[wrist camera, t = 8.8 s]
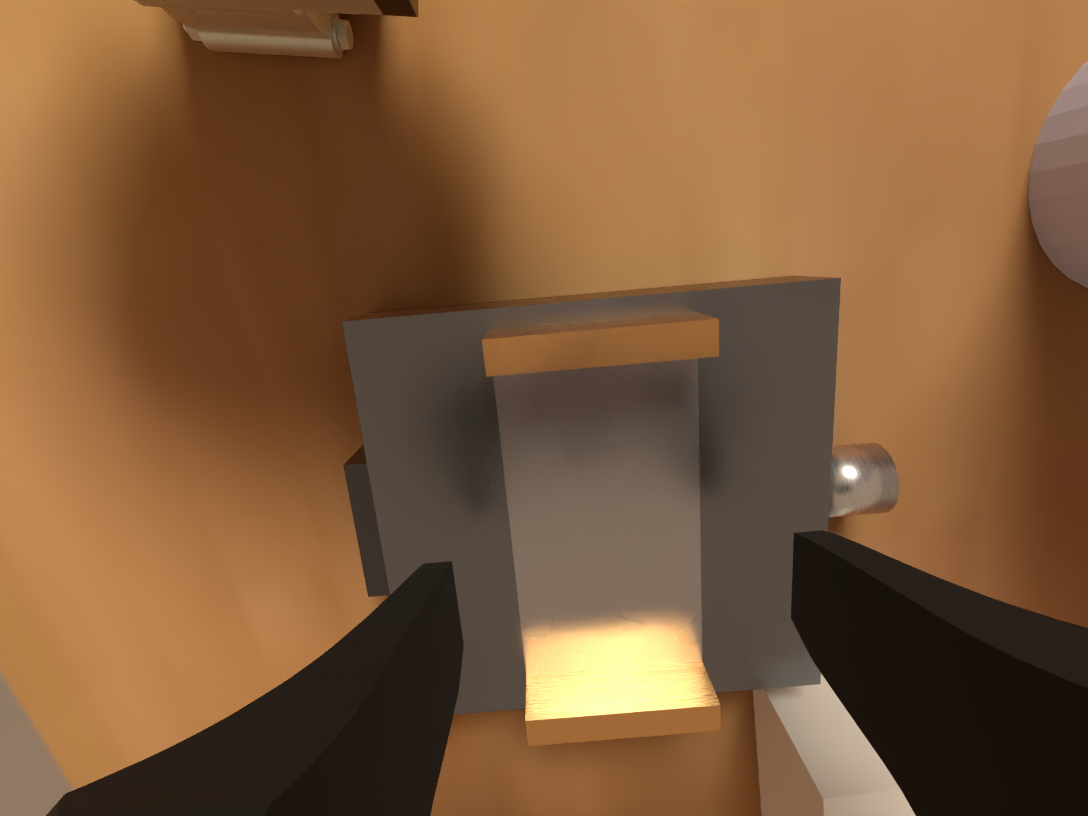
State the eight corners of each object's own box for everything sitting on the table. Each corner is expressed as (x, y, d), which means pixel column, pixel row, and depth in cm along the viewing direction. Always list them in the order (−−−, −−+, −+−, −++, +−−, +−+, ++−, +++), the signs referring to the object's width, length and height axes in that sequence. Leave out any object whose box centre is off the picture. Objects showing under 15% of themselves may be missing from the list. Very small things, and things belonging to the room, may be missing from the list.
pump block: (851, 648, 19) (960, 781, 14) (854, 806, 21) (951, 972, 16) (750, 662, 19) (823, 799, 14) (760, 818, 21) (829, 987, 16)
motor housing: (864, 269, 16) (984, 271, 11) (842, 624, 18) (931, 729, 14) (343, 315, 16) (274, 333, 11) (404, 660, 19) (366, 774, 14)
